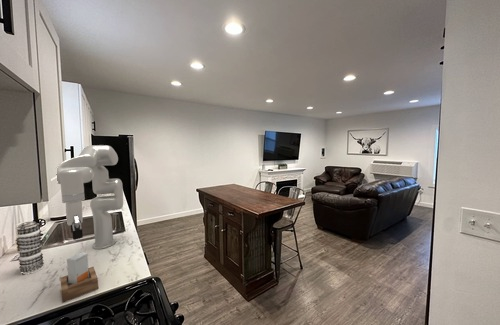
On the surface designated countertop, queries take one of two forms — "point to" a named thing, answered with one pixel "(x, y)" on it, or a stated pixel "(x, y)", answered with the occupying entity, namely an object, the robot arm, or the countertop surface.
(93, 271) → the brown wooden square frame
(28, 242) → the decorative candle
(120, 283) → the countertop surface
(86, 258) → the skincare box
